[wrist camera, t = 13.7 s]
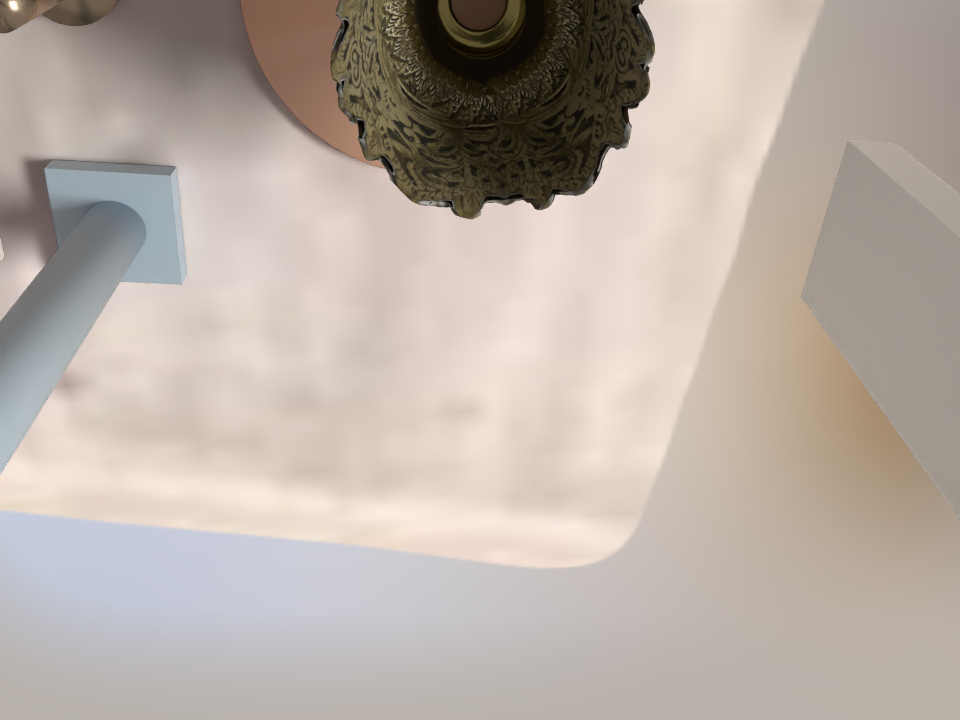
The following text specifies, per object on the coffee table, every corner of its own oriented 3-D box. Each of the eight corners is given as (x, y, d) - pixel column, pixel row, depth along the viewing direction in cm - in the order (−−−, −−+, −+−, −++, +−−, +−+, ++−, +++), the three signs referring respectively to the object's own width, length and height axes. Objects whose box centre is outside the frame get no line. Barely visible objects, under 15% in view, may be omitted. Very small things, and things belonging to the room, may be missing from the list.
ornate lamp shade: (365, 125, 30) (347, 227, 23) (341, -133, 26) (309, -102, 19) (596, 116, 30) (644, 215, 23) (606, -142, 26) (668, -114, 19)
